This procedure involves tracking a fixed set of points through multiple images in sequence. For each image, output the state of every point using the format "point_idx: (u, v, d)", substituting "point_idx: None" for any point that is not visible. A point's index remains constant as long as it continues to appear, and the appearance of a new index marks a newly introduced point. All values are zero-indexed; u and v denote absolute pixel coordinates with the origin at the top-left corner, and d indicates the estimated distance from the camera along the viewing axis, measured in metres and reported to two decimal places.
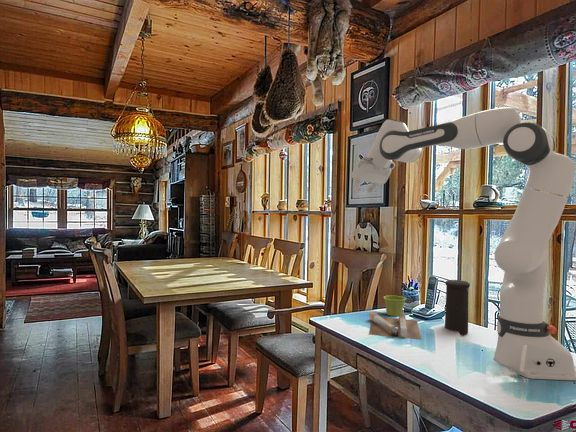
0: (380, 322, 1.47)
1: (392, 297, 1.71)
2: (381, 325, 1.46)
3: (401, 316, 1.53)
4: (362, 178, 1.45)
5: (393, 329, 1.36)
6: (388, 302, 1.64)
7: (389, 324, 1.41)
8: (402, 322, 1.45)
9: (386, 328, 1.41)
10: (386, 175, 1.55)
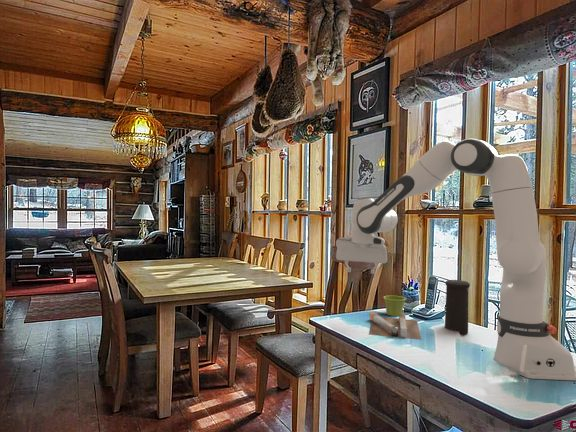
0: (380, 322, 1.47)
1: (392, 297, 1.71)
2: (381, 325, 1.46)
3: (401, 316, 1.53)
4: (343, 257, 1.53)
5: (393, 329, 1.36)
6: (388, 302, 1.64)
7: (389, 324, 1.41)
8: (402, 322, 1.45)
9: (386, 328, 1.41)
10: (381, 253, 1.50)
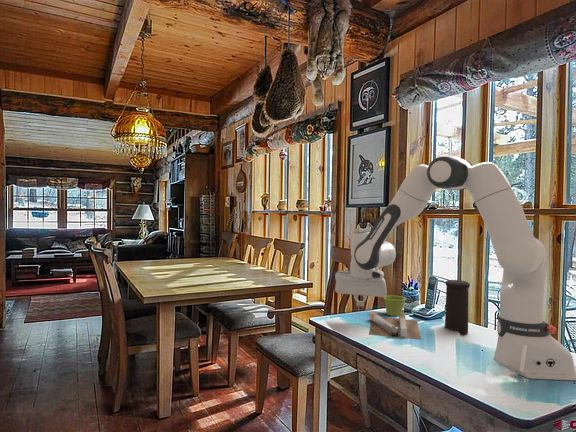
0: (380, 322, 1.47)
1: (392, 297, 1.71)
2: (381, 325, 1.46)
3: (401, 316, 1.53)
4: (342, 290, 1.53)
5: (393, 329, 1.36)
6: (388, 302, 1.64)
7: (389, 324, 1.41)
8: (402, 322, 1.45)
9: (386, 328, 1.41)
10: (380, 287, 1.49)
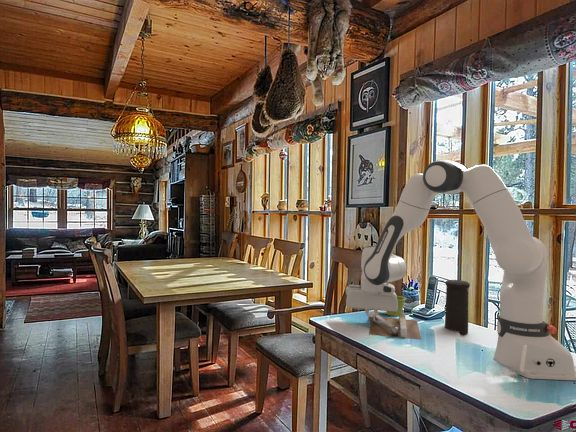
0: (380, 322, 1.47)
1: None
2: (381, 325, 1.46)
3: (401, 316, 1.53)
4: (353, 305, 1.52)
5: (393, 329, 1.36)
6: None
7: (389, 324, 1.41)
8: (402, 322, 1.45)
9: (386, 328, 1.41)
10: (392, 301, 1.48)
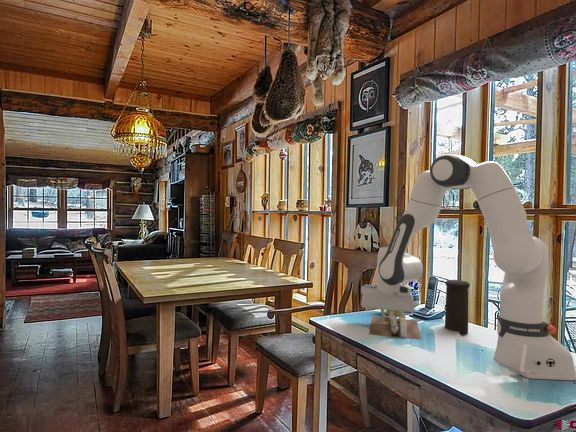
0: None
1: None
2: None
3: (401, 316, 1.53)
4: (368, 305, 1.51)
5: (392, 329, 1.36)
6: None
7: (394, 324, 1.41)
8: (402, 322, 1.45)
9: None
10: (408, 301, 1.47)
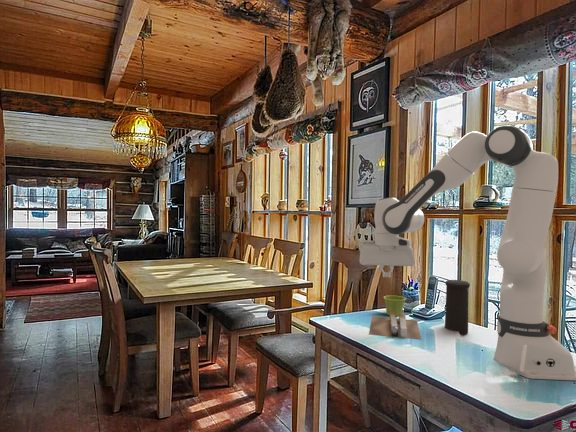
0: None
1: (392, 297, 1.71)
2: None
3: (401, 316, 1.53)
4: (367, 261, 1.45)
5: (392, 329, 1.36)
6: (388, 302, 1.64)
7: (394, 324, 1.41)
8: (402, 322, 1.45)
9: None
10: (408, 255, 1.40)
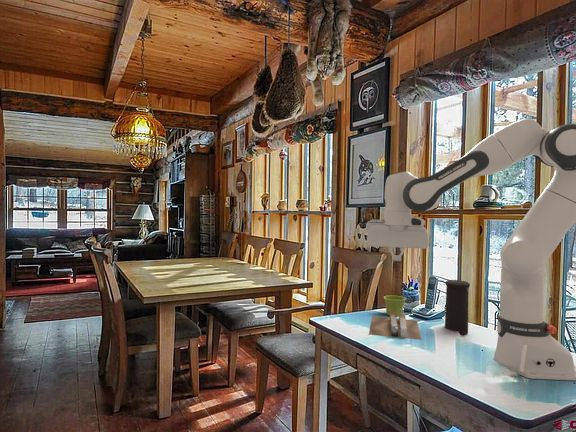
0: None
1: (392, 297, 1.71)
2: None
3: (401, 316, 1.53)
4: (375, 242, 1.30)
5: (392, 329, 1.36)
6: (388, 302, 1.64)
7: (394, 324, 1.41)
8: (402, 322, 1.45)
9: None
10: (421, 236, 1.26)
